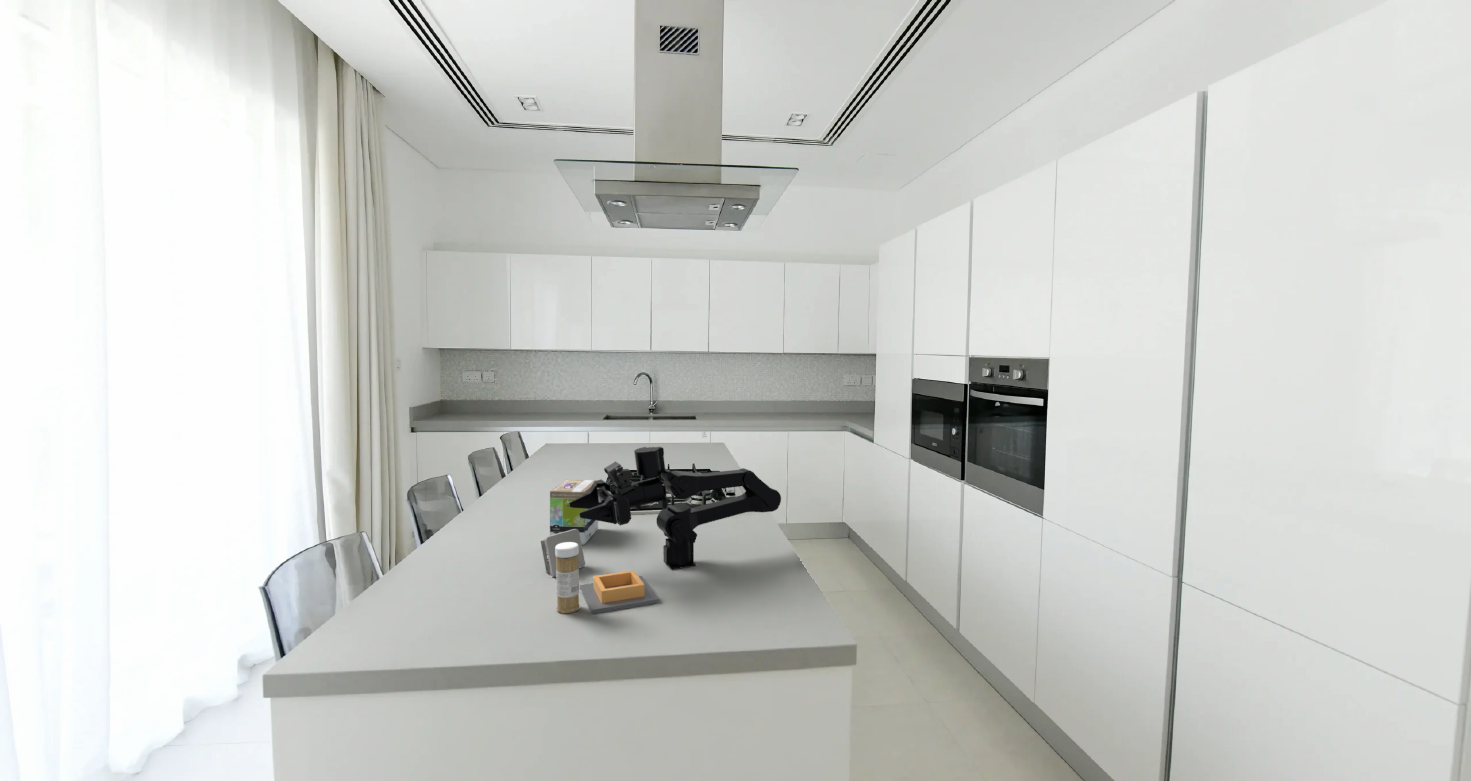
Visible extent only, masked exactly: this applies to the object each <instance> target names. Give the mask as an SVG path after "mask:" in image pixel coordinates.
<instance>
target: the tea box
mask: <svg viewBox="0 0 1471 781" xmlns="http://www.w3.org/2000/svg"><path fill="white" fill-rule="evenodd" d="M594 481H597V480H596V479H595V480H594V479H565V480H563V481H562V482H561V483H559V484H558V485H557V486H555V487H554V488H552V489H551V490H550V491H549V536H551V535H555V534H558V533H562V532H565V531H569V530H572V529H578V530H579V534H580V539H581V544H582V545H583V546H584V545H586V543H587V542H588V541H589V540H590V538H592V536H594V534H595V533H596V532H597V531H598V529H599V521H597V520H590V519H584V518H580V515H579V513H580V512H583V511H585V510H587V509H584V508H571V507H570V506H569V503H570V502H571V501H573V500H575V499H577V498H579V497H580V496H582V495H584V494H586V493H587V492H589V491H590V489H591V487H592V484H593V483H594Z"/></svg>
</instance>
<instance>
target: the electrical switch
mask: <svg viewBox="0 0 1471 781" xmlns="http://www.w3.org/2000/svg"><path fill="white" fill-rule="evenodd" d="M564 542H574V543H577V544H578V547H579V553H578V568H579V569H581V568H584V567H585V566H586V561H585V556H584V550H583V546H582V544H581V539H580V534H579V530H578V529H572V530H569V531H565V532H562V533H558V534H555V535H551V536H550V535H548V536H545V537H544V539H543V540H540V545H541V546H540V547H541V551H542V556H543V560H544V567H545V571H546V574H547V575H548V574H550V576H551V577H552V578H554V577H555V578H556V568H557V567H556V565H557V564H556V555H555V547H556V545H558V544H560V543H564Z"/></svg>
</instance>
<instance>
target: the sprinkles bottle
mask: <svg viewBox="0 0 1471 781" xmlns="http://www.w3.org/2000/svg"><path fill="white" fill-rule="evenodd" d="M578 553H579V547H578V544H577V543H574V542H564V543H560V544H558V545H556V547H555V555H556V564H557V565H556V567H557V568H556V577H555V579H556V580H555V581H556V582H555V583H556V598H557V599H556V602H557V603H556V604H557V605H556V611H557V612H558V613H561V614H571V613H572V614H573V613H575V612H576V611H578V610H579V609H580V599H579V598H580V595H579V594H580V568H578Z"/></svg>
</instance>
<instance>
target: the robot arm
mask: <svg viewBox="0 0 1471 781" xmlns="http://www.w3.org/2000/svg"><path fill="white" fill-rule="evenodd" d="M633 453H634V459H635V467H636V474H637V475H638V476H641V478H642V479H644V480H640V481H637V482H634V481H632V480H631V479H632V478H633V476H634V475H633V472H632V470H630V469H628V468H624V467H623V466H622V465H621V463H618V462H617V461H614V462H612V463H611V464H609V465H607V466H605V467H604V468H603V470H604V473H605V474H607V476H608V478H609V480H610V482H611V483H610V484H609V483H607V482H606V481H604V480H603V479H598V480H597V481H594V483H593V484H592V487H591V489H590V491H589V492H587V493H586V494H584V495H582V496H580V497H579V498H577V499H575V500H573V501H571V502H570V503H569V506H570V507H571V508H584V509H587V510H585V511H583V512H580V513H579V515H580V518H584V519H590V520H597V521H598V522H604V523H609V524H614V525H617V524H618V525H619V526H624V525H626V524H629V523H630V521H631V519H632V512H631V510H632V509H635V510H636V511H639V510H642V507H643V506H647V505H650V504H655V503H657V505H658V507H660V508H661V510H660V511H659V513H658V515H657V517H656V526H657V527H658V529H659V530H660V531H661V532H663V534H664V536H665V537H667V538H665V544H664V545H663V546H662V548H663V549H662V550H663V553H662V554H663V562H664V564H665V565H666V566H667V567H668V568H669V569H670V570H675V569H676V570H677V569H684V568H690V567H695V566H697V563H696V561H695V558H694V556H695V555H694V552H695V551H694V544H695V543H696V540H697V537H698V533H696V531H694V530H695V529H696V528H697V527H698V526H700V525H705V524H708V523H713V522H715V521H719V520H723V519H726V518H730V517H735V516H736V515H742V514H746V513H750V512H751V513H771V512H774V511H775V512H776V511H777V510H778V509H779V507H780V505H781V502H782V496H781V494H780V492H779V491H778V490H777V489H774V488H773V487H770V486H769V485H768V484H767V483H765V482H764V481H763V480H761V479H760V477H758V476H757V475H756V474H755V473H754V471H753V470H750V469H746V468H740V469H734V470H733V469H732V470H723V471H713V472H703V473H701V472H700V473H696V472H690V471H684V470H683V471H681V470H670V469H667V468H666V465H665V456H664V455H665V451H664V447H662V446H651V447H650V446H648V447H647V446H643V447H639V448H636V449H634V451H633ZM738 487H742V488H743V491H745V492H743V493H742V494H741V495H737V496H733V497H730V498H729V497H728V498H725V499H722V500H717V501H713V502H710V503H705V504H702V505H699V506H694V507H691V506H689V505H687V504H685V503H684V502H682V501H680V502H678V503H675V504H673V505H672V504H671V505H669V503H670V502H671V499H670V498H668V496H667V493H668V494H670V495H672V496H673V497H675V498H677V499H679V500H684V499H688V498H691V497H693V496H696V495H698V494H700V493H701V492H704V491H712V490H713V491H714V490H720V489H721V490H722V489H729V488H738Z"/></svg>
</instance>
